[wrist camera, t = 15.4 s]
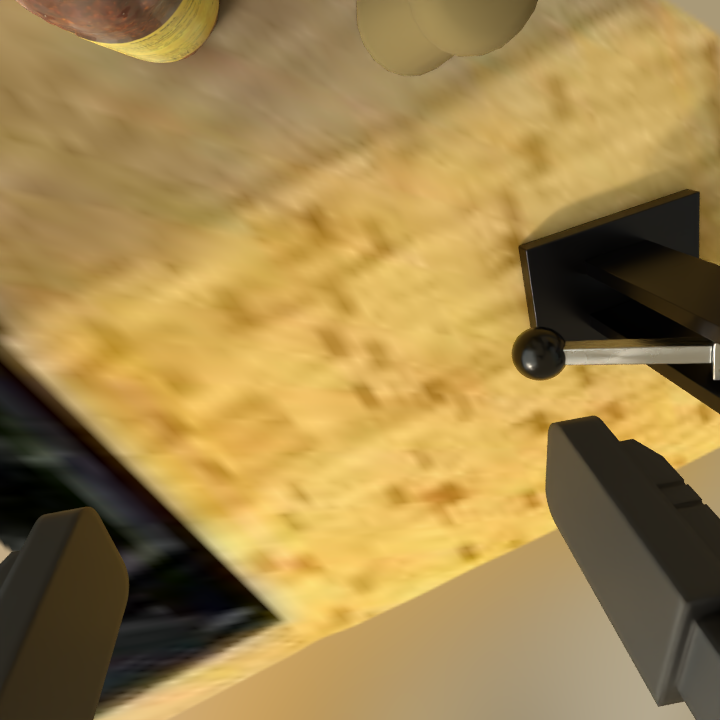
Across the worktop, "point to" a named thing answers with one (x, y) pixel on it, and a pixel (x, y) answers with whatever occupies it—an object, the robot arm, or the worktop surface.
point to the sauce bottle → (134, 24)
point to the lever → (606, 352)
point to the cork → (436, 30)
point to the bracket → (630, 283)
